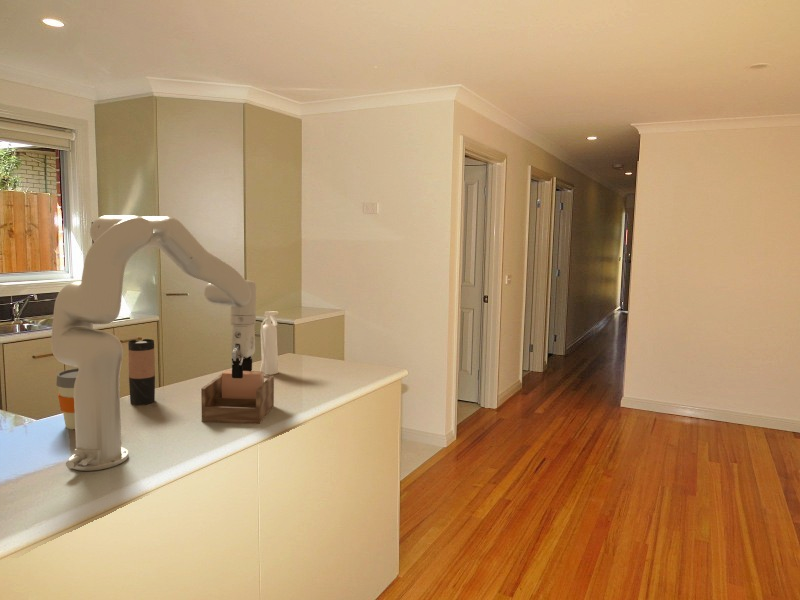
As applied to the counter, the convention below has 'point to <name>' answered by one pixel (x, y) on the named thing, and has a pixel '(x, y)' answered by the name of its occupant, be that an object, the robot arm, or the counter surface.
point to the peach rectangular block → (241, 384)
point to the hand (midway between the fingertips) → (242, 374)
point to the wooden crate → (236, 404)
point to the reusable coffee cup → (67, 395)
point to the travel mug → (141, 371)
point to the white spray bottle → (269, 344)
